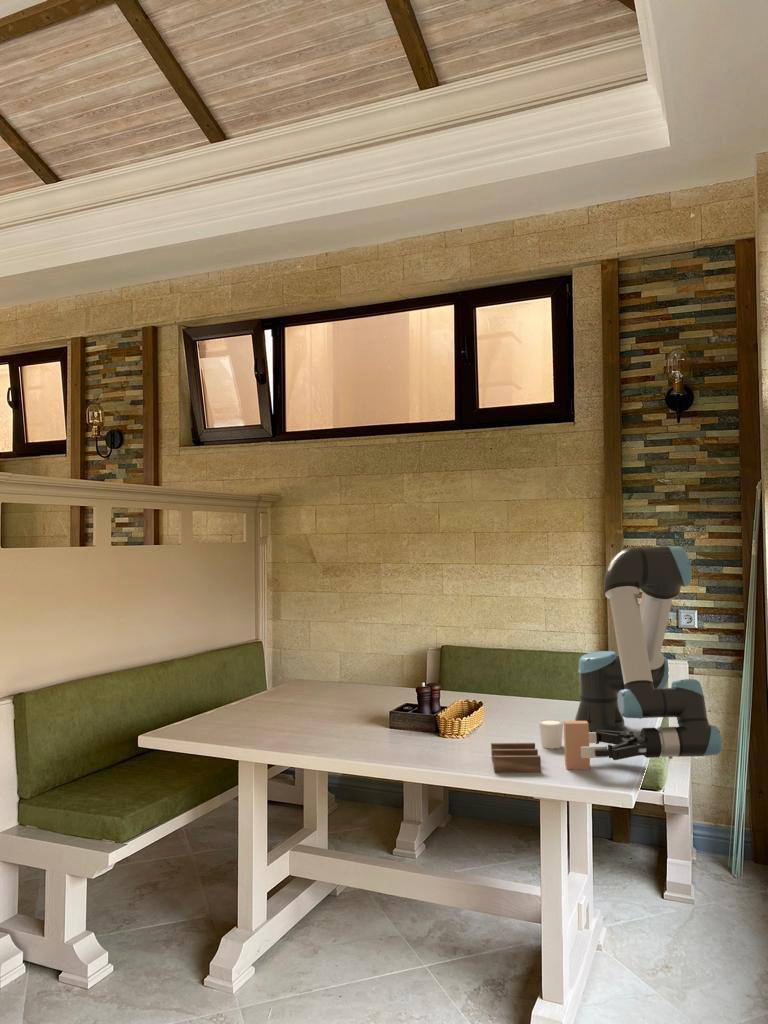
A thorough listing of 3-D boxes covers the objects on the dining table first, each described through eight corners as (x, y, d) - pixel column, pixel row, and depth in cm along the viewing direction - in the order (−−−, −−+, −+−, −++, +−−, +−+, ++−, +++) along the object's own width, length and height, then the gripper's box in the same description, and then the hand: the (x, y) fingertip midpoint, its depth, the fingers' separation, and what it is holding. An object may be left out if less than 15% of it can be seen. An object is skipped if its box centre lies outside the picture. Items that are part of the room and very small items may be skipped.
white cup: (564, 749, 224) (563, 725, 224) (539, 749, 225) (539, 724, 226) (563, 743, 231) (562, 719, 231) (539, 742, 232) (538, 719, 232)
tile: (565, 766, 209) (563, 720, 209) (588, 766, 208) (586, 720, 208) (566, 769, 206) (565, 723, 206) (590, 769, 205) (588, 723, 205)
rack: (491, 757, 218) (491, 743, 219) (535, 757, 218) (534, 742, 218) (494, 772, 205) (494, 757, 205) (540, 772, 204) (540, 756, 204)
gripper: (673, 771, 192) (586, 774, 194) (646, 743, 217) (569, 746, 219) (671, 740, 192) (584, 743, 194) (644, 716, 217) (567, 719, 219)
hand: (576, 745), depth 206 cm, fingers open, 13 cm apart
